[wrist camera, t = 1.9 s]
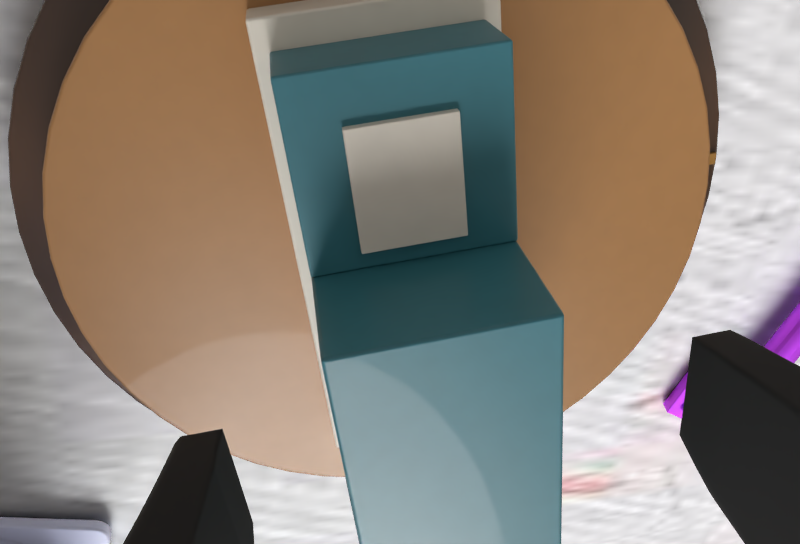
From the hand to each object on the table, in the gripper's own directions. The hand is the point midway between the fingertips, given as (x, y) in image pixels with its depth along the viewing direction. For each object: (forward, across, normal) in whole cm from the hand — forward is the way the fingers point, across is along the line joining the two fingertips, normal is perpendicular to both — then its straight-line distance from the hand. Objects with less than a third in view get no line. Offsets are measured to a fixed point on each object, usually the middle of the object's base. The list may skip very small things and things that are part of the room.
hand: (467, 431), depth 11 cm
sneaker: (+8, 0, 0) cm, 8 cm away
